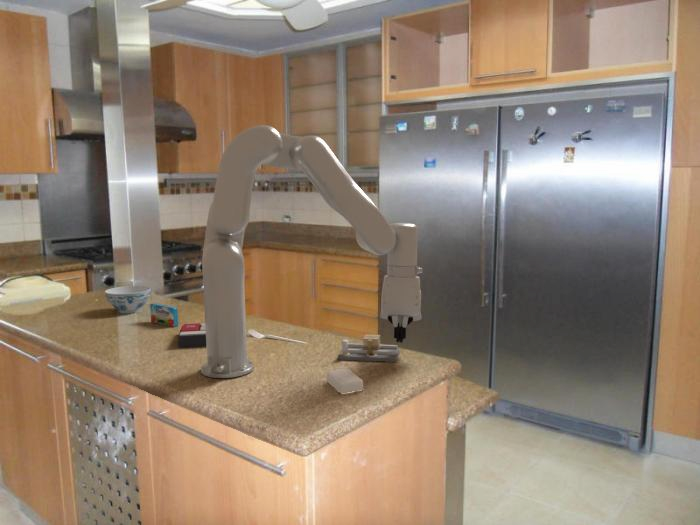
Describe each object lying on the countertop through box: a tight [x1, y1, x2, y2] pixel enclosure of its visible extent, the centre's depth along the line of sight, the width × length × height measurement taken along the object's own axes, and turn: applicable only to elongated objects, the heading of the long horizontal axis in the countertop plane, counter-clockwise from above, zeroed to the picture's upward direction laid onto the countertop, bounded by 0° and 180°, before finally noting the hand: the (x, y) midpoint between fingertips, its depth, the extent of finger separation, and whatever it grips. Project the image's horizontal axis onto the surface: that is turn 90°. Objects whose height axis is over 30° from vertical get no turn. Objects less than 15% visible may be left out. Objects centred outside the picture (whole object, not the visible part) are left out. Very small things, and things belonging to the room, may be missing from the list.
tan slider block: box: [362, 334, 381, 354], centre depth 152 cm, size 7×4×4 cm, turn 170°
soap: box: [326, 368, 364, 393], centre depth 130 cm, size 9×6×3 cm, turn 23°
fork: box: [247, 328, 307, 344], centre depth 169 cm, size 3×20×2 cm, turn 62°
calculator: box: [177, 322, 206, 349], centre depth 169 cm, size 11×4×15 cm
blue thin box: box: [149, 302, 179, 328], centre depth 187 cm, size 12×2×6 cm, turn 54°
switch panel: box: [337, 339, 400, 363], centre depth 152 cm, size 9×15×4 cm, turn 80°
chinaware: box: [104, 285, 152, 314], centre depth 205 cm, size 15×15×8 cm
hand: (399, 341), depth 152 cm, fingers closed
